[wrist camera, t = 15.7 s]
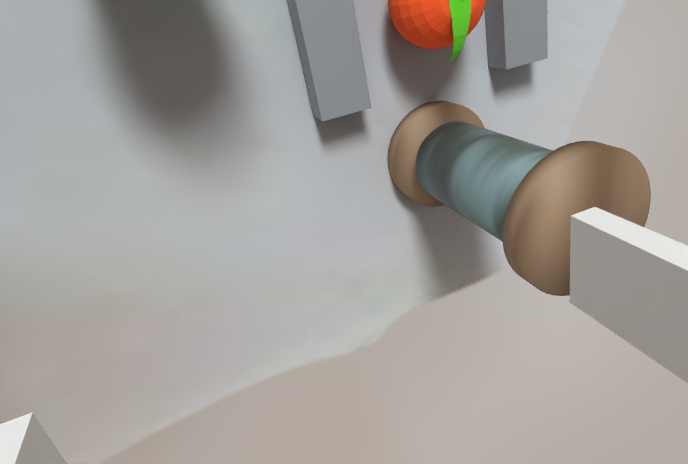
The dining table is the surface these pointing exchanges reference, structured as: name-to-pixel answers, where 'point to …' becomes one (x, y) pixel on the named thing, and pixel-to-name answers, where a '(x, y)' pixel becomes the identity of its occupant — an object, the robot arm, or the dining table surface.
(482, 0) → the clementine
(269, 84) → the dining table surface
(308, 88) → the notched board
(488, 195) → the bobbin
